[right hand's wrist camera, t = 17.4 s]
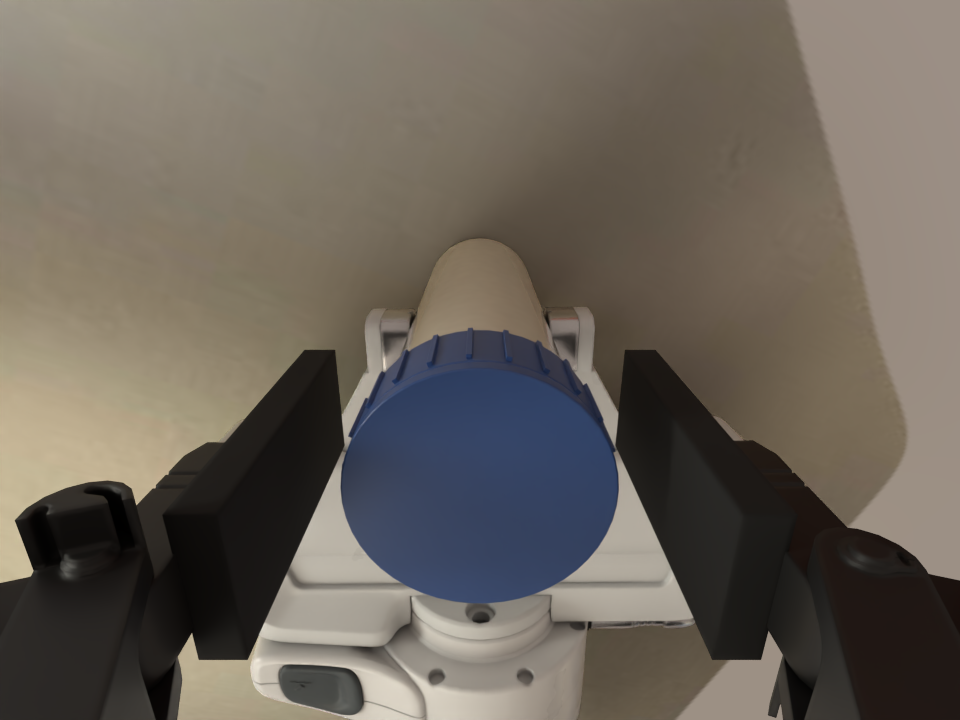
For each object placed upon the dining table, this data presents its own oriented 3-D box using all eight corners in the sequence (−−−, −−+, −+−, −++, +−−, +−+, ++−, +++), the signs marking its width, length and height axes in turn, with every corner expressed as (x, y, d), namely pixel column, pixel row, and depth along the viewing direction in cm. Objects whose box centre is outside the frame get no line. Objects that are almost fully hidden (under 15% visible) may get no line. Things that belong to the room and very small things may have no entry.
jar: (416, 317, 25) (335, 537, 11) (448, 222, 24) (401, 336, 10) (508, 349, 26) (543, 597, 12) (545, 259, 24) (639, 416, 10)
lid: (546, 561, 13) (557, 634, 11) (334, 501, 13) (307, 567, 11) (640, 372, 11) (673, 419, 9) (398, 290, 11) (379, 323, 9)
